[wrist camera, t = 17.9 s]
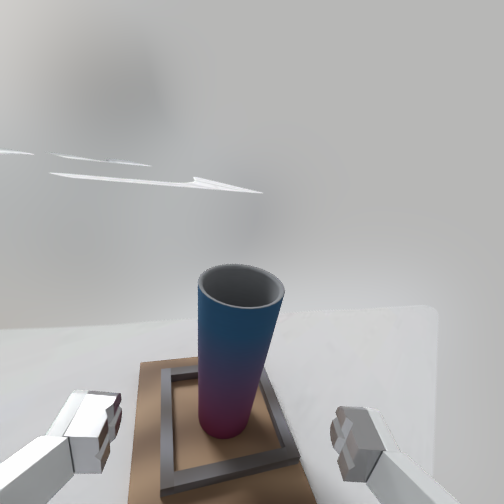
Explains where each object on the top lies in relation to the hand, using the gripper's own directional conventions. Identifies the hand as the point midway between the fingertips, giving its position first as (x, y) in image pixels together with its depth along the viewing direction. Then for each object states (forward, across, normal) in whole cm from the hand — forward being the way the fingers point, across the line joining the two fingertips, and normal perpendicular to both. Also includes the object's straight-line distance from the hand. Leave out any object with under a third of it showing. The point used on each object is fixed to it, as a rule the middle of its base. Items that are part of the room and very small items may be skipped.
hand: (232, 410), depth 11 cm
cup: (+12, -1, +17) cm, 20 cm away
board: (+10, 0, +18) cm, 20 cm away
